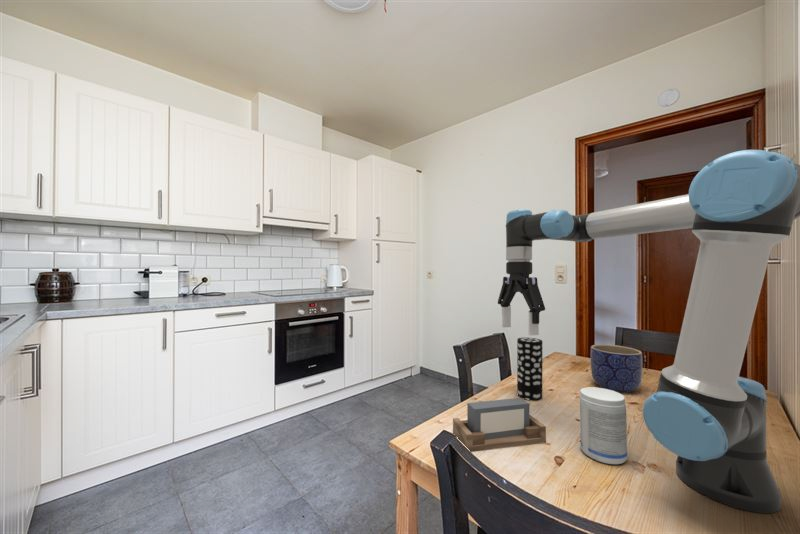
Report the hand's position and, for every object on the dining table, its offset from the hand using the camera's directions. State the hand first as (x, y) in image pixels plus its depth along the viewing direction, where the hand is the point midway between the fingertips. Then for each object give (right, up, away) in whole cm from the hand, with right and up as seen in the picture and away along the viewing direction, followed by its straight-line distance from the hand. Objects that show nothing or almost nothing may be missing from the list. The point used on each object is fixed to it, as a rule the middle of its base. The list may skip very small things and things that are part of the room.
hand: (519, 331), depth 97 cm
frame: (-10, -25, -13) cm, 30 cm away
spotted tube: (+10, -27, +16) cm, 33 cm away
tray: (-10, -26, -13) cm, 31 cm away
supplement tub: (+13, -26, -20) cm, 35 cm away
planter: (+47, -27, +26) cm, 60 cm away
